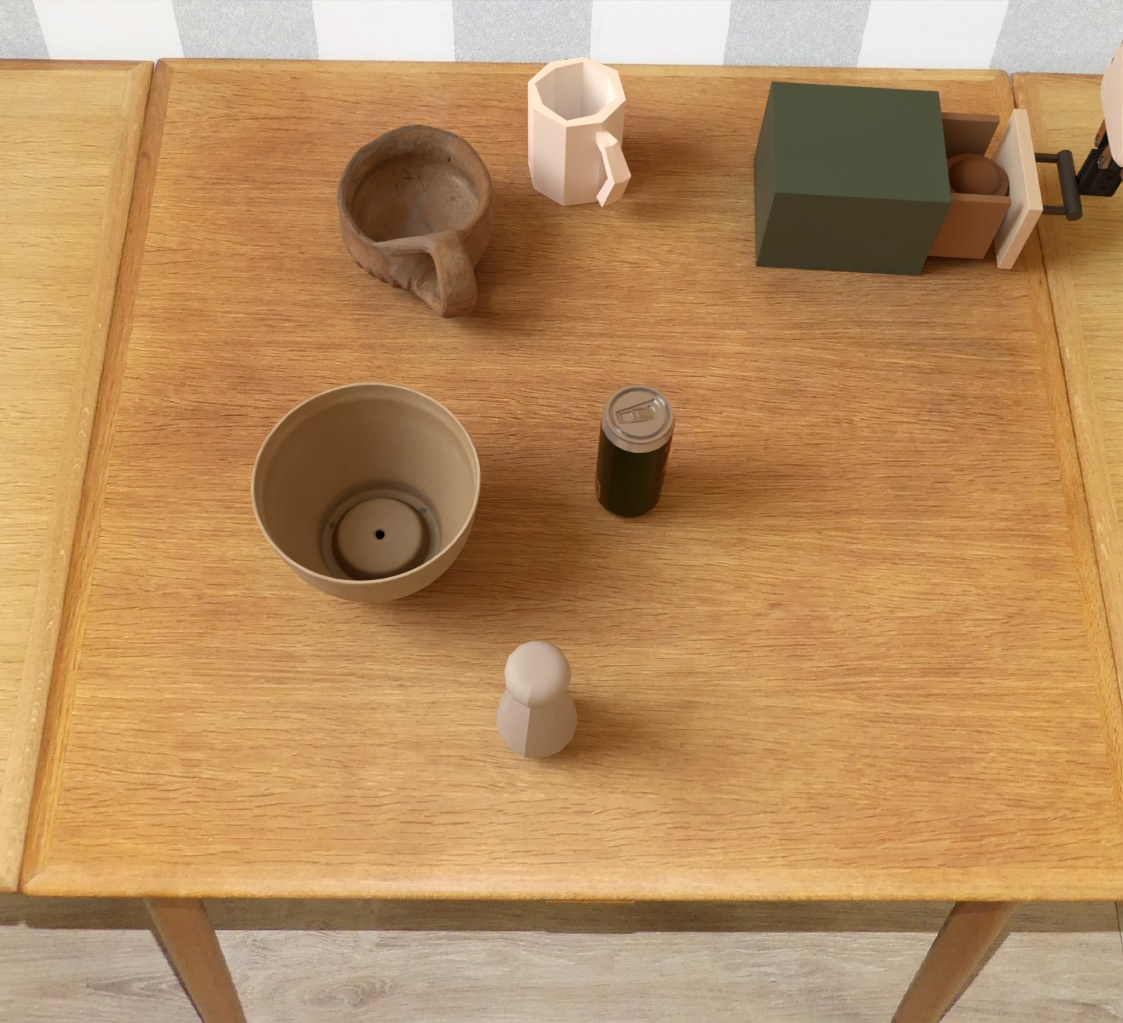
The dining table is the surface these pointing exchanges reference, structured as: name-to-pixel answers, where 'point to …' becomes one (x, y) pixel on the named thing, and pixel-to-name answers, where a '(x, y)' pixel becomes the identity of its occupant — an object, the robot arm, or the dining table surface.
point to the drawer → (1021, 207)
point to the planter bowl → (367, 490)
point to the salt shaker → (536, 701)
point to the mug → (577, 133)
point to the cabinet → (849, 178)
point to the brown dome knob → (976, 175)
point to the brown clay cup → (418, 214)
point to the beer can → (633, 450)
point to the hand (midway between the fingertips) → (1092, 189)
